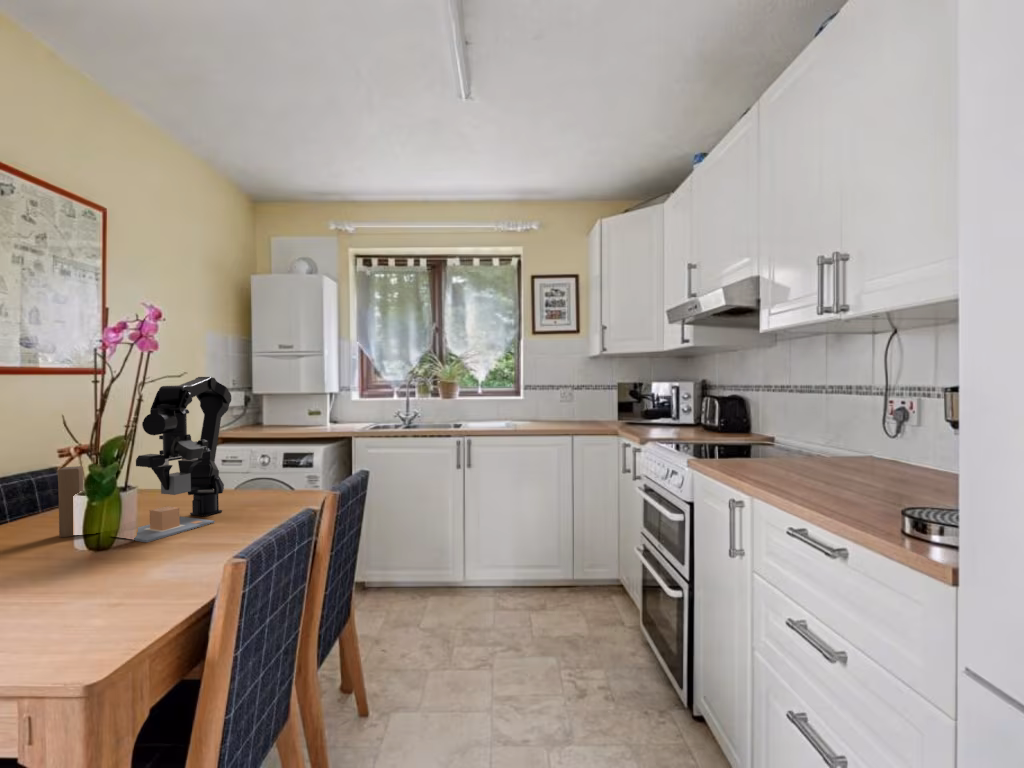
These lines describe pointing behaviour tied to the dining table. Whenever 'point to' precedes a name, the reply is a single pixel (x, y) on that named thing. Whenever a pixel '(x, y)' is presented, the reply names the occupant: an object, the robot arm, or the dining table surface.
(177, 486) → the charcoal cube
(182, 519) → the board
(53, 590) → the dining table surface
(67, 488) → the wooden block
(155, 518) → the terracotta cube
